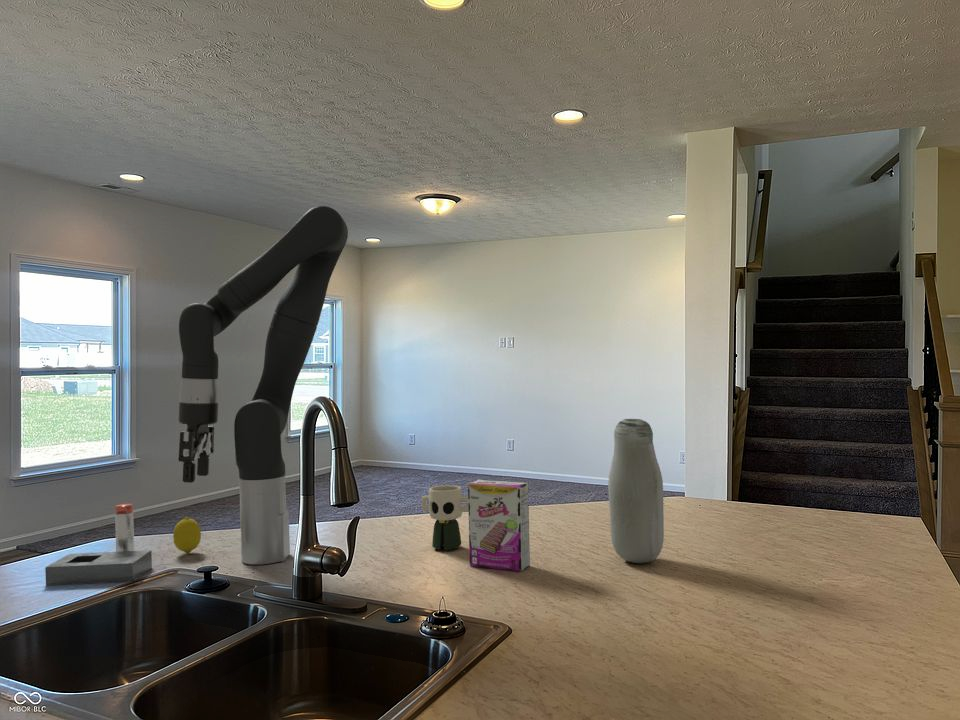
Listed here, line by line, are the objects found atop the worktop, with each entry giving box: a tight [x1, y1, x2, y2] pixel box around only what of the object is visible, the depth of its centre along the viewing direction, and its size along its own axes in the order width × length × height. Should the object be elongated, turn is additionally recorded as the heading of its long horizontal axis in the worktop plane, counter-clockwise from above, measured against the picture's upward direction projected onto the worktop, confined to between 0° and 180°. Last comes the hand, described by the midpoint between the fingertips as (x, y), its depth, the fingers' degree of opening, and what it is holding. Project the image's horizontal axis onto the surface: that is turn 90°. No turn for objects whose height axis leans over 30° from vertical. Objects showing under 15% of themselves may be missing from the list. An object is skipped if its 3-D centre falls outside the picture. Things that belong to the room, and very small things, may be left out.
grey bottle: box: [607, 418, 665, 564], centre depth 141 cm, size 10×10×28 cm
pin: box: [114, 503, 135, 552], centre depth 149 cm, size 3×3×12 cm
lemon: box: [172, 516, 202, 555], centre depth 155 cm, size 6×6×8 cm
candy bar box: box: [467, 479, 531, 572], centre depth 140 cm, size 11×5×16 cm, turn 65°
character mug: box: [421, 484, 469, 551], centre depth 154 cm, size 11×7×13 cm, turn 74°
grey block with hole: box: [44, 549, 153, 586], centre depth 140 cm, size 16×9×4 cm, turn 94°
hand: (196, 478), depth 148 cm, fingers open, 8 cm apart
